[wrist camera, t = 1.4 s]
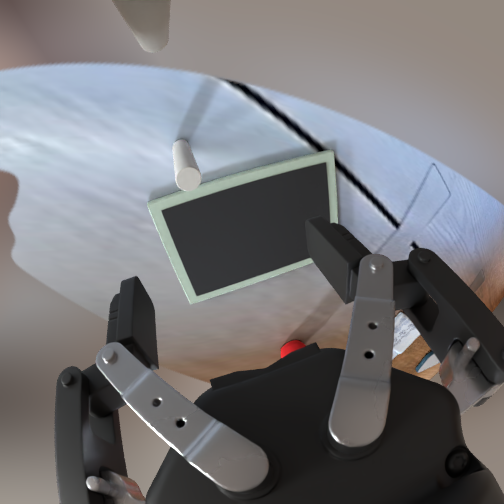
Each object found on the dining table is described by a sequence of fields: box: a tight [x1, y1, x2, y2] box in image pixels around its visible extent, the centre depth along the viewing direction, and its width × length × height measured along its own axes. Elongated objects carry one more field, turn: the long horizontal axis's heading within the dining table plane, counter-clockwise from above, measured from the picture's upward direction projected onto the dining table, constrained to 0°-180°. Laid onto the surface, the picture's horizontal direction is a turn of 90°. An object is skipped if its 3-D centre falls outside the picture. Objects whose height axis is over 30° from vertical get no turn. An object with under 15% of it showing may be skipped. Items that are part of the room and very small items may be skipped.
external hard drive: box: [416, 351, 440, 373], centre depth 90 cm, size 24×12×2 cm, turn 80°
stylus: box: [172, 139, 202, 191], centre depth 24 cm, size 2×2×12 cm
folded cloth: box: [392, 312, 420, 360], centre depth 66 cm, size 19×20×2 cm
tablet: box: [147, 150, 338, 304], centre depth 37 cm, size 16×23×1 cm
